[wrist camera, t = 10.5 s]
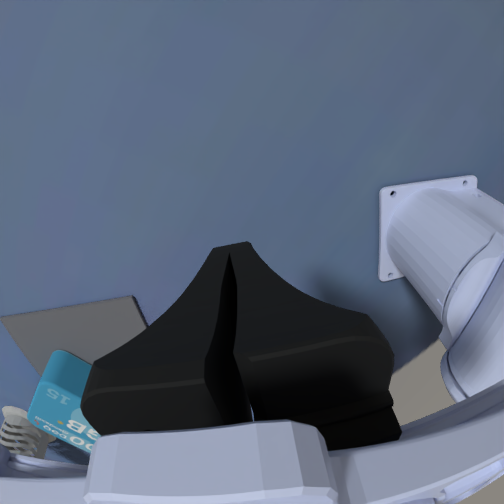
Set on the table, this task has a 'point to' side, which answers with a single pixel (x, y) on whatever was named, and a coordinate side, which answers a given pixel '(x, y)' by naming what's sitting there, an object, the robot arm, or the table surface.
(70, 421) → the data package
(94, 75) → the table surface
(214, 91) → the table surface
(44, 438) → the french press
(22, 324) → the mat
